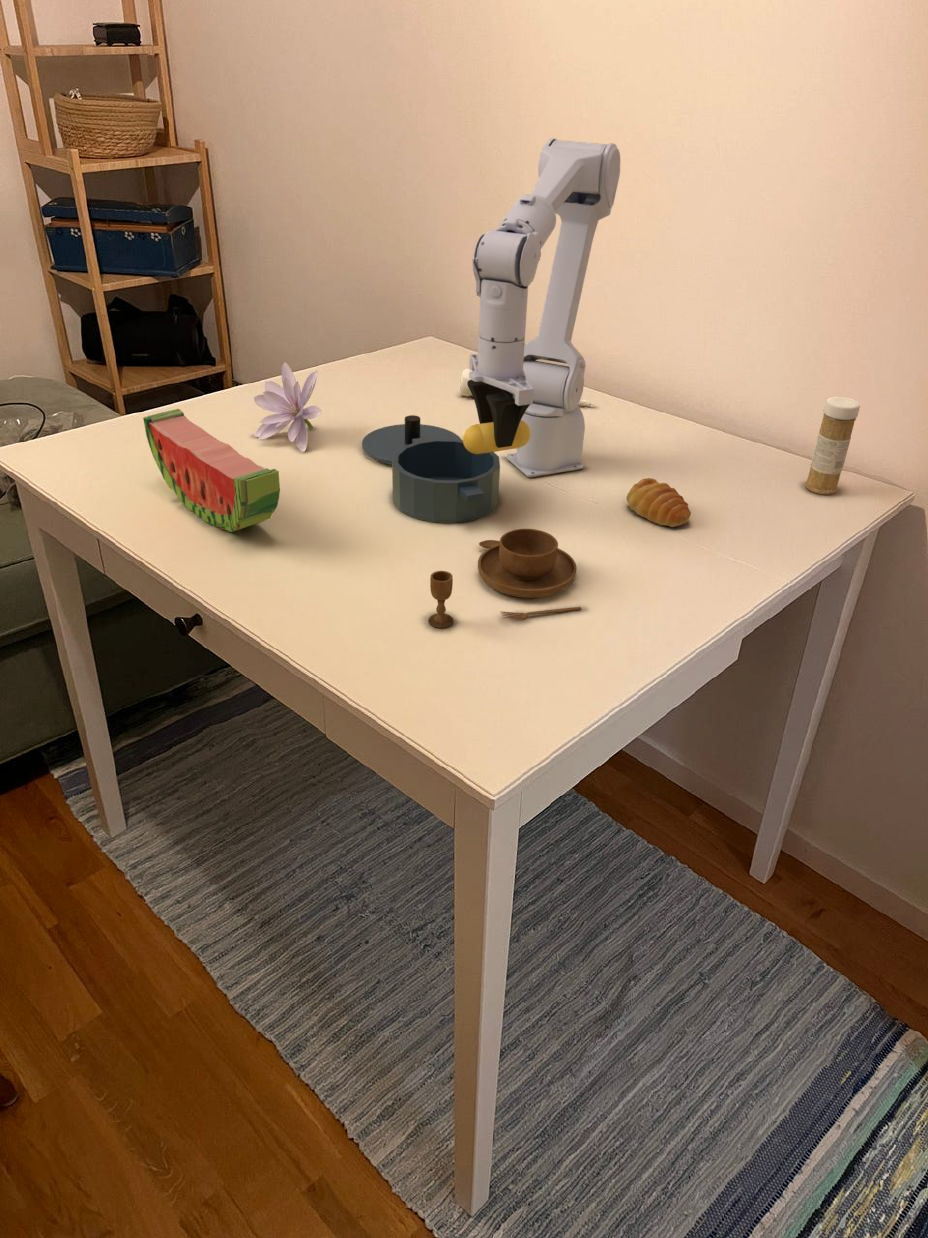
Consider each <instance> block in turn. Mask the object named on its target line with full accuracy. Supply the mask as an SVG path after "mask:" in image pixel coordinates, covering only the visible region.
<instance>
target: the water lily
mask: <svg viewBox="0 0 928 1238" xmlns="http://www.w3.org/2000/svg"><path fill="white" fill-rule="evenodd" d="M280 373H281V382H282V386H281V385H280V384H279V383H278V382H275V381H272V380H266V381H264V384H263V385H264V391H263V394H257V395H255V396H253V398H252V399H253V402H254V403H255V405H257V407H259V408H261V409H262V410H265V411H268V412H270V413H273V414H270V415H267V416H265V417H264V418H262V419H261V420H260V421H259V424H261V425H259V427H258V428H257V429H256V431H255V432H254V438H258V440H259V441H262V440H265V439H268V438H271V437H273V436H275V435H277V434H278V433H280V432H281V431H283V430H284V429H286V427H287V426H289V428H288V430H287V437H288V441H290V442H291V443H293V442H295V445H296V447H297V448H298V450H300V451H301V452H303V453H305V451H306V450H307V447H308V440H309V439H308V437H309V435H308V434H309V433H308V429H309V430H313V429H314V426H313V424H312V423H311V422H310V421H309V420H311V419H312V420H313V419H315V418H317V417H319V416H320V415H321V414H322V412H323V411H322V409H321V408H320V407H319V406H317V405H310V406H307V407H305V406H306V404H307V403H308V401H309V400H310V398H311V396H312V394H313V392H314V390H315V386H316V383H317V378H318V370H314V371H312V372H311V373H309V375H308V376H307V378H306V379H305V381H304V383H303V385H302V389H301V387H300V386H301V385H300V382H299V381H298V380H297V381H296V377H295V375H294V372H293V371H292V368H291V367H290V365H289V364H288V363H287V362H283V364H282V366H281V372H280ZM304 407H305V408H304ZM307 427H308V428H307Z"/></svg>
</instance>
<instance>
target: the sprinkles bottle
mask: <svg viewBox="0 0 928 1238" xmlns="http://www.w3.org/2000/svg"><path fill="white" fill-rule="evenodd" d="M860 408H861V404H860V402H859V401H858V400H856V399H854V398H851V397H846V396H839V395H838V396H836V395H835V396H831V397H828V398H827V399H826V400H825V403H824V406H823V409H822V410H823V411H822V412H823V416H822V421H821V423H820V428H819V432H818V435H817V438H816V443H815V446H814V449H813V454H812V456H811V457H812V458H811V461H810V467H809V472H808V476H807V480H806V481H805V487H806V489H807V490H809V491H811V492H812V493H815V494H819V495H833V494H835V493H836V492H837V491H838V486H839V485H838V484H839V481H840V478H841V473H842V472H843V469H844V465H845V461H846V458H847V454H848V450H849V447H850V443H851V440H852V433H853V429H854V425H855V422H856V420H857V418H858V415H859V412H860Z"/></svg>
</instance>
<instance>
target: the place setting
mask: <svg viewBox="0 0 928 1238" xmlns="http://www.w3.org/2000/svg"><path fill="white" fill-rule="evenodd" d="M478 545H479V546H480V547H481V548H484V549H486V550H484V551H483V552H482V553H481V554H480V555H479V557H478V560H477V570H478V573H479V576H480V578H481V579H482V580H483V582H484V583H485V584H486V585H487V586H489V587H490V588H492V589H494V590H495V591H497V592H499V593H502V594H505V595H508V596H511V597H515V598H526V599H538V598H544V597H551V596H553V595H556V594H558V593H560V592H563V591H564V590H566V589H567V588H568V587H569V586H570V585H572V584H573V582H574V581H575V578H576V575H577V569H578V568H577V562H576V560H574V558H573V557H572V556H571V555H570V554H569V553H568V552H567V551H565V550H562V549H561V548H560V547H559V541H558V540H557V538H556V537H554V536H553V535H552V534H550V533H548V532H547V531H543V530H540V529H535V528H517V529H513V530H509V531H507V532H505V533H503V535H501V536H500V539H499V540H495V539H485V540H482V541H480V542H479V543H478ZM429 577H430V578H429V583H430V585H429V586H430V588H429V589H430V594H431V596H432V598H434V599H435V600H436V601H437V602H436V603H437V606H436V607H435V610H436V613H434V614H432V615H430V616H429V617H428V624H429V625H430V626H431V627H433V628H435V629H447V628H449V627H451V626H452V625H453V624H454V618H453V617H452V616H451V615H450V614H448V613H446V610H447V608H446V606H445V603H446V600H448V599H449V598H450V597H451V596H452V593H453V583H454V577H453V574H452V573H451V572H449V571H447V570H437V571H436V570H435V571H433V572H432V573H431V574H430V576H429ZM578 610H582V607H581V606H574V607H572V606H571V607H564V608H563V607H562V608H554V609H553V608H552V609H543V610H536V611H529V612H525V613H524V612H511V611H501V612H500V615H501V616H502V617H503V618H504V619H511V620H525V619H527V618H528V617H529V616H532V615H543V614H545V615H546V614H554V613H563V612H570V611H578Z"/></svg>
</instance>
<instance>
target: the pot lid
mask: <svg viewBox="0 0 928 1238" xmlns="http://www.w3.org/2000/svg"><path fill="white" fill-rule="evenodd" d="M424 437H428V438H429V439H430V440H432V439H457V440H462V438H461V437H460V435H458V434H456V433H455V432H454V431H451V430H449V429H447V428H445V427H444V428H443V427H440V426H435V425H430V424H422V423H421V416H418V415H415V414H414V415H413V414H412V415H406V416H405V417H404V423H401V424H400V423H399V424H393V425H387V426H383V427H379V428H377V429H375V430H372V431H371V432H369V433H367V434H366V435H365V436H364V437H363V439H362V441H361V448H362V451H363V452H364V454H366V455H367V456H368V457H370V458H371V459H373V460H376V461H378V462H381V463H384V464H388V465H392V461H393V454H395V453H396V452H397V451H398V450H399V449H400V448H402V447H404V446H407V445H409V444H412V439H416V438H424Z"/></svg>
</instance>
